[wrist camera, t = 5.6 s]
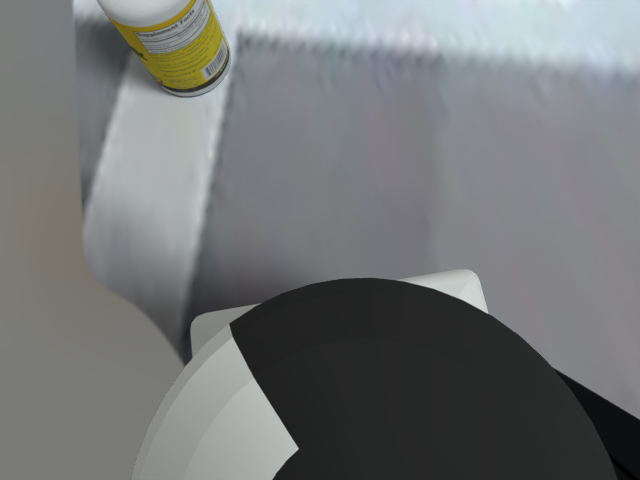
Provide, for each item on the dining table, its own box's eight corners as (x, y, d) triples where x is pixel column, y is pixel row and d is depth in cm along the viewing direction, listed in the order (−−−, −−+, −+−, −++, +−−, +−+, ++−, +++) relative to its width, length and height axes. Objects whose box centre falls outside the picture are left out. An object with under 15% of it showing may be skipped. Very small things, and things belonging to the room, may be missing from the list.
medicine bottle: (425, 301, 17) (599, 177, 5) (472, 500, 15) (929, 1029, 3) (251, 331, 17) (39, 276, 5) (274, 532, 15) (14, 1153, 3)
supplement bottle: (149, 41, 29) (50, -111, 19) (225, 22, 28) (164, -139, 19) (158, 108, 27) (57, -19, 18) (239, 89, 27) (180, -49, 18)
